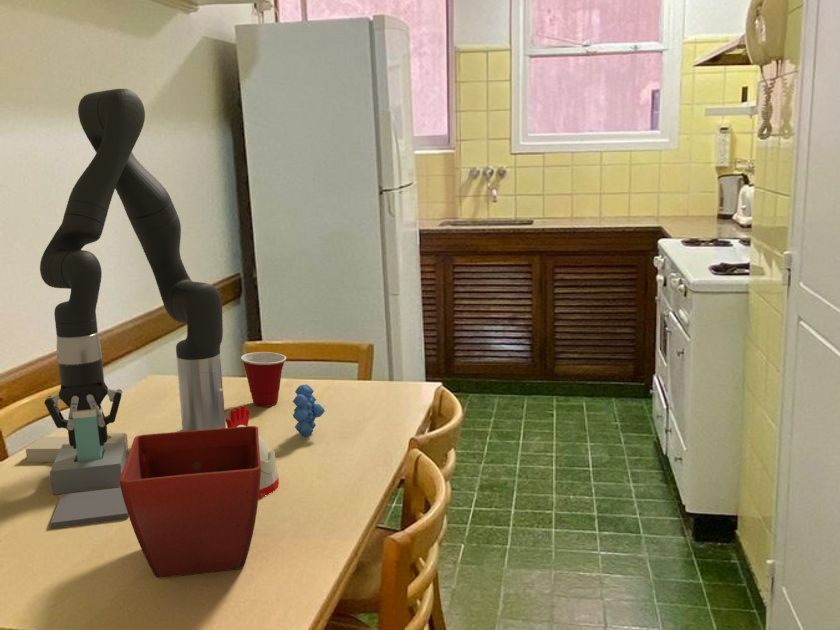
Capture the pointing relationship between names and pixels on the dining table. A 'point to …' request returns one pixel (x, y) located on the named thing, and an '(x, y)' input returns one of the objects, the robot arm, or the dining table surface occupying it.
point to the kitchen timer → (267, 457)
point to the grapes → (306, 410)
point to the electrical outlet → (61, 447)
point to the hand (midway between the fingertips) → (89, 445)
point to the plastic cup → (264, 376)
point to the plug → (87, 435)
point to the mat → (89, 508)
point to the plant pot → (193, 498)
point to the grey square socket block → (88, 470)
